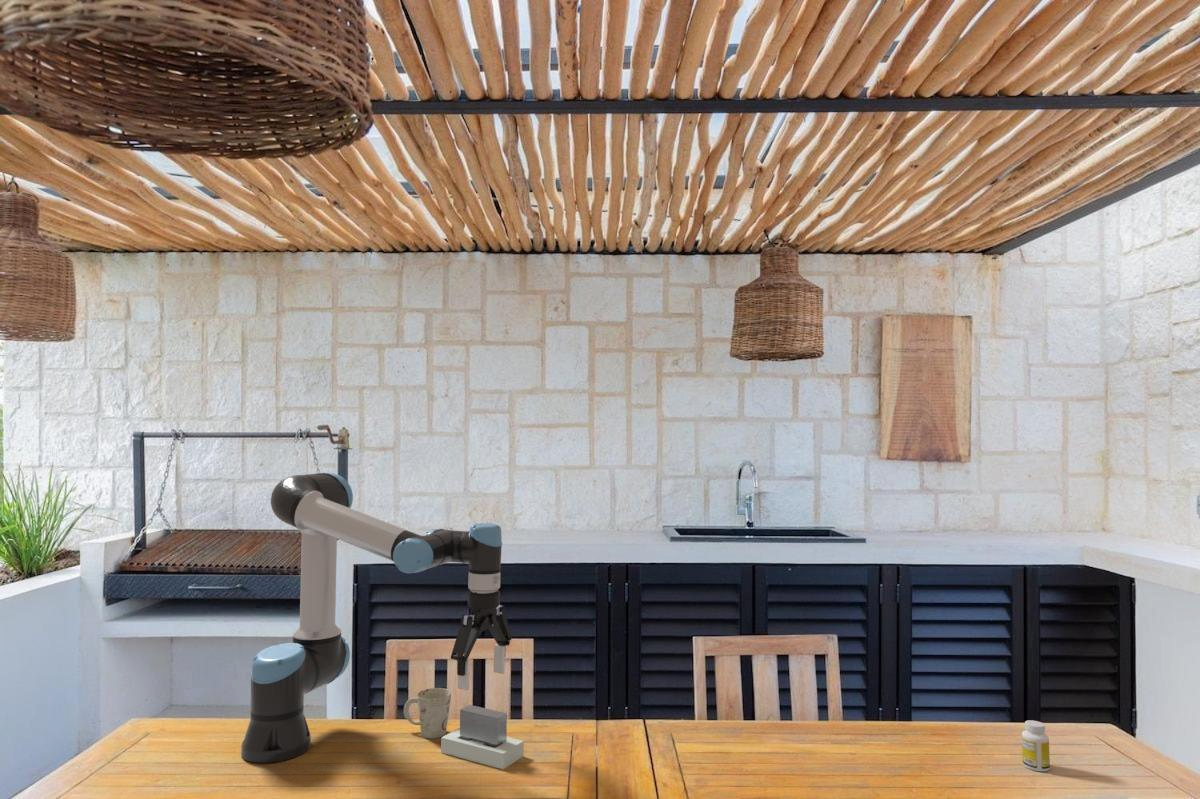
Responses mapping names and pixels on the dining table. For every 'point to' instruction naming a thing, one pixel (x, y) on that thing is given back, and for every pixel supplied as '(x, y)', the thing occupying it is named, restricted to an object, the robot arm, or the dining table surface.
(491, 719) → the clip
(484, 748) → the block
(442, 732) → the mug
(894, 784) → the dining table surface
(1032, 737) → the supplement bottle
